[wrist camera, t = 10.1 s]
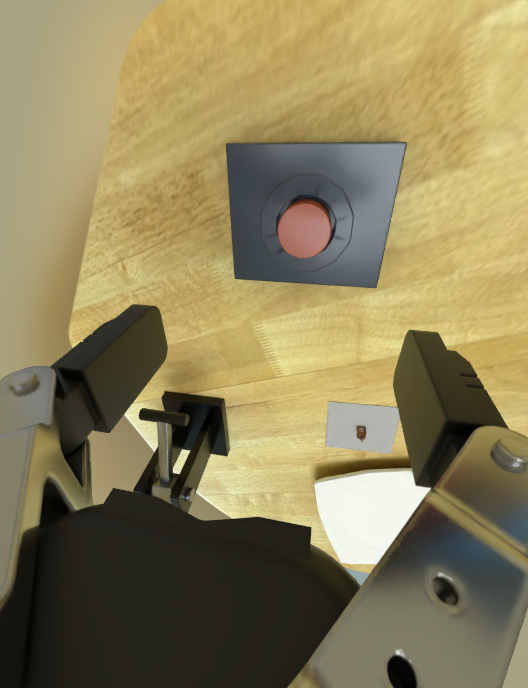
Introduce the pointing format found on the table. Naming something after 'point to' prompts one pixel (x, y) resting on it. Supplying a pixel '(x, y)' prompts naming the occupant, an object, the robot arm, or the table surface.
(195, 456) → the lever bracket
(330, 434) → the grey square pad
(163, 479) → the press lever
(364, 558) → the plate
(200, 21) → the table surface
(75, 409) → the robot arm
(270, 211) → the button box
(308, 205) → the button
